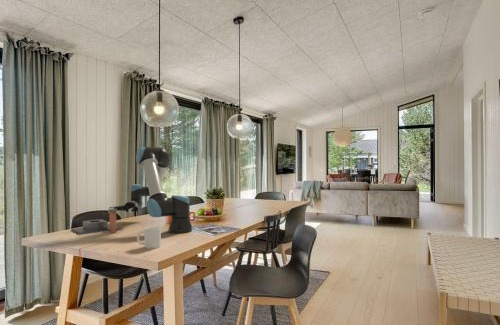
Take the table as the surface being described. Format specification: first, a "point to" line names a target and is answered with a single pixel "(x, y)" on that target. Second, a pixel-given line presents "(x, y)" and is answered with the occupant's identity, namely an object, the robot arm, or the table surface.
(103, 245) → the table surface
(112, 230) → the pin
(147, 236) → the cup
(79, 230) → the hitch plate
